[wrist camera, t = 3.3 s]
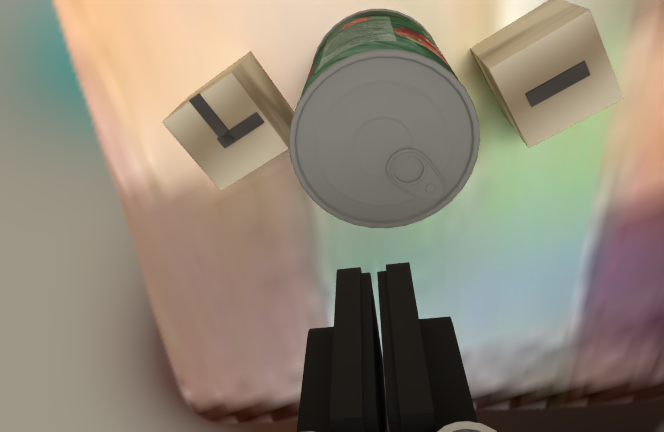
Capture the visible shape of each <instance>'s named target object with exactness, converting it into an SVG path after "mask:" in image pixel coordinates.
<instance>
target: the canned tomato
mask: <svg viewBox="0 0 664 432" xmlns="http://www.w3.org/2000/svg"><path fill="white" fill-rule="evenodd" d="M289 143H290V156H291V160H292V164H293V167H294V171H295V173H296V175H297V177H298V179H299V181H300V183H301V185H302V187H303V188H304V189H305V191H306V192H307V193H308V194H309V196H310V197H311V198H312V200H314V201H315V202H316V203H317V204H318V205H319V206H321V207H322V208H323V209H324V210H325V211H327V212H329V213H330V214H332V215H334V216H335V217H337V218H339V219H341V220H344V221H346V222H349V223H352V224H355V225H359V226H365V227H370V228H392V227H399V226H405V225H408V224H412V223H415V222H418V221H421V220H423V219H425V218H427V217H429V216H431V215H433V214H434V213H436V212H438V211H439V210H440V209H442V208H443V207H444V206H446V205H447V204H448V203H449V202H451V201H452V200H453V198H454V197H455V196H456V195H457V194H458V193H459V192H460V191H461V190H462V188H463V187H464V185H465V183H466V182H467V180H468V179H469V177H470V175H471V173H472V171H473V168H474V165H475V163H476V160H477V157H478V150H479V143H480V133H479V121H478V117H477V114H476V111H475V107H474V104H473V102H472V100H471V98H470V96H469V95H468V93H467V91H466V89H465V88H464V86H463V85H462V84H461V83H460V82H459V80H458V78H457V77H456V75H455V74H454V72H453V71H452V69H451V67H450V66H449V64H448V63H447V61H446V60H445V58H444V57H443V55H442V54H441V52H440V50H439V49H438V47H437V46H436V44H435V42H434V40H433V39H432V37H431V35H430V34H429V33H428V32H427V31H426V29H425V28H424V27H423V26H422V25H421V24H419V23H418V22H417V21H415V20H414V19H413V18H411V17H409V16H407V15H405V14H402V13H400V12H397V11H392V10H388V9H370V10H365V11H361V12H357V13H355V14H353V15H350V16H348V17H346V18H344V19H343V20H342V21H340V22H339V23H338V24H336V25H335V26H334V27H333V28H332V29H331V30H330V31H329V32H328V33H327V34H326V35H325V37H324V38H323V40H322V42H321V43H320V45H319V47H318V49H317V52H316V54H315V57H314V60H313V64H312V67H311V70H310V73H309V76H308V78H307V81H306V84H305V87H304V89H303V92H302V95H301V98H300V101H299V102H298V104H297V107H296V110H295V113H294V115H293V118H292V122H291V129H290V135H289Z"/></svg>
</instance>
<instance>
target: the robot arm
mask: <svg viewBox="0 0 664 432" xmlns="http://www.w3.org/2000/svg"><path fill="white" fill-rule="evenodd" d="M377 275H378V290H379V304H380V319H381V334H382V348H383V359H382V352H381V345H380V338H379V331H378V324H377V317H376V310H375V303H374V296H373V289H372V282H371V275H370V273H361V268H360V267H358V268H348V269H339V270H337V277H336V297H335V317H334V327H326V328H314V329H310V330H309V332H308V337H307V346H306V354H305V363H304V372H303V381H302V389H301V398H300V407H299V416H298V424H297V432H388V430H387V416H388V423H389V430H390V432H496V431H495V430H493V429H491V428H489V427H487V426H485V425H483V424H480V423H477V418H476V415H475V411H474V407H473V403H472V399H471V395H470V391H469V387H468V383H467V379H466V375H465V371H464V367H463V363H462V359H461V355H460V351H459V347H458V343H457V339H456V335H455V331H454V327H453V323H452V320H451V318H450V317H440V318H429V319H419V318H418V312H417V306H416V300H415V294H414V288H413V282H412V276H411V270H410V264H409V262H408V263H398V264H388V265H386V271H381V272H377ZM383 363H384V370H383ZM384 378H385V385H384ZM385 392H386V400H385ZM386 405H387V415H386Z"/></svg>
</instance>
